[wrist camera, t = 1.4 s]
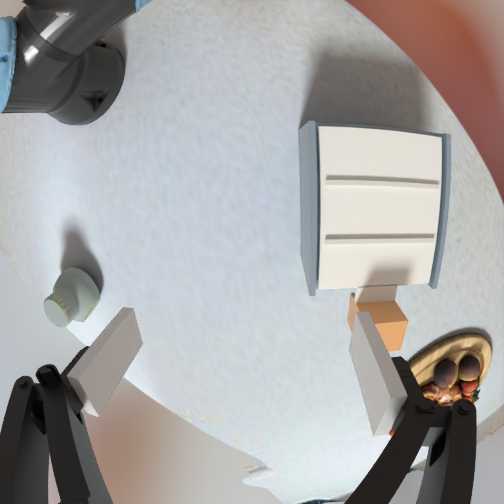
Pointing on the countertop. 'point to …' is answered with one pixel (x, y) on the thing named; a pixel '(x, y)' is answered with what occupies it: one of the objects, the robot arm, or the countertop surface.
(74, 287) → the air freshener
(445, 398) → the wooden plate with food
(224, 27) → the countertop surface
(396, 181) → the lid
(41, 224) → the countertop surface
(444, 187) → the tub
